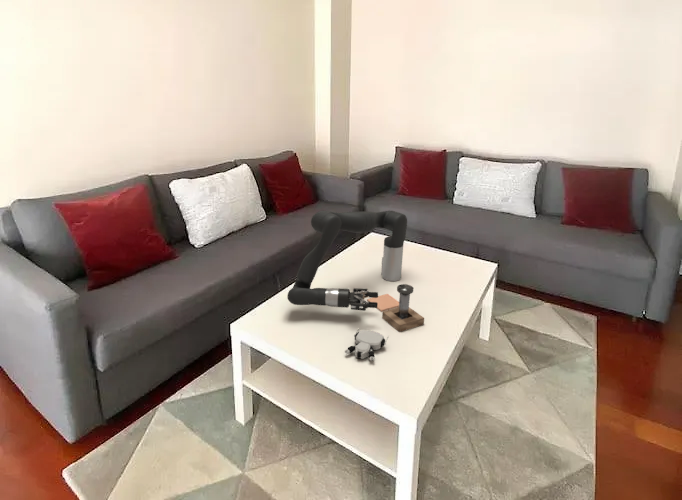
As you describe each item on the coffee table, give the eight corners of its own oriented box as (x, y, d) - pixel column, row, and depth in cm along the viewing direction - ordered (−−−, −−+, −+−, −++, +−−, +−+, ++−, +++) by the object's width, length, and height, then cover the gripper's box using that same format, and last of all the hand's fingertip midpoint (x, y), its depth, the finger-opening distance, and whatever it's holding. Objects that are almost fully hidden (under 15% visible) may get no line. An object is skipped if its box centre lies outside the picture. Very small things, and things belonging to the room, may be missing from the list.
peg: (391, 319, 189) (393, 286, 183) (404, 315, 192) (406, 282, 186) (401, 326, 184) (403, 292, 178) (413, 322, 187) (416, 289, 181)
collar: (382, 318, 190) (382, 311, 189) (405, 311, 195) (406, 305, 194) (399, 332, 180) (400, 325, 179) (423, 324, 186) (424, 317, 184)
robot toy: (374, 367, 160) (389, 343, 173) (374, 357, 158) (389, 333, 171) (342, 358, 165) (358, 335, 177) (342, 348, 163) (358, 325, 175)
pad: (366, 300, 203) (367, 299, 203) (387, 295, 208) (387, 293, 208) (381, 311, 194) (381, 310, 194) (402, 305, 200) (402, 304, 199)
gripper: (335, 297, 179) (377, 300, 177) (339, 281, 192) (378, 283, 190) (335, 314, 181) (377, 317, 180) (339, 297, 194) (377, 299, 193)
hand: (377, 300), depth 185 cm, fingers open, 8 cm apart
